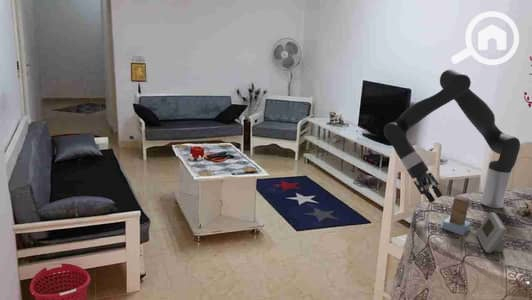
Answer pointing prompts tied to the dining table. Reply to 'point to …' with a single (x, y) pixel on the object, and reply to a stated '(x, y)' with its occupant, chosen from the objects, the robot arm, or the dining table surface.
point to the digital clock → (492, 234)
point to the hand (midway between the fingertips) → (436, 199)
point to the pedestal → (456, 226)
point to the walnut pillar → (459, 210)
